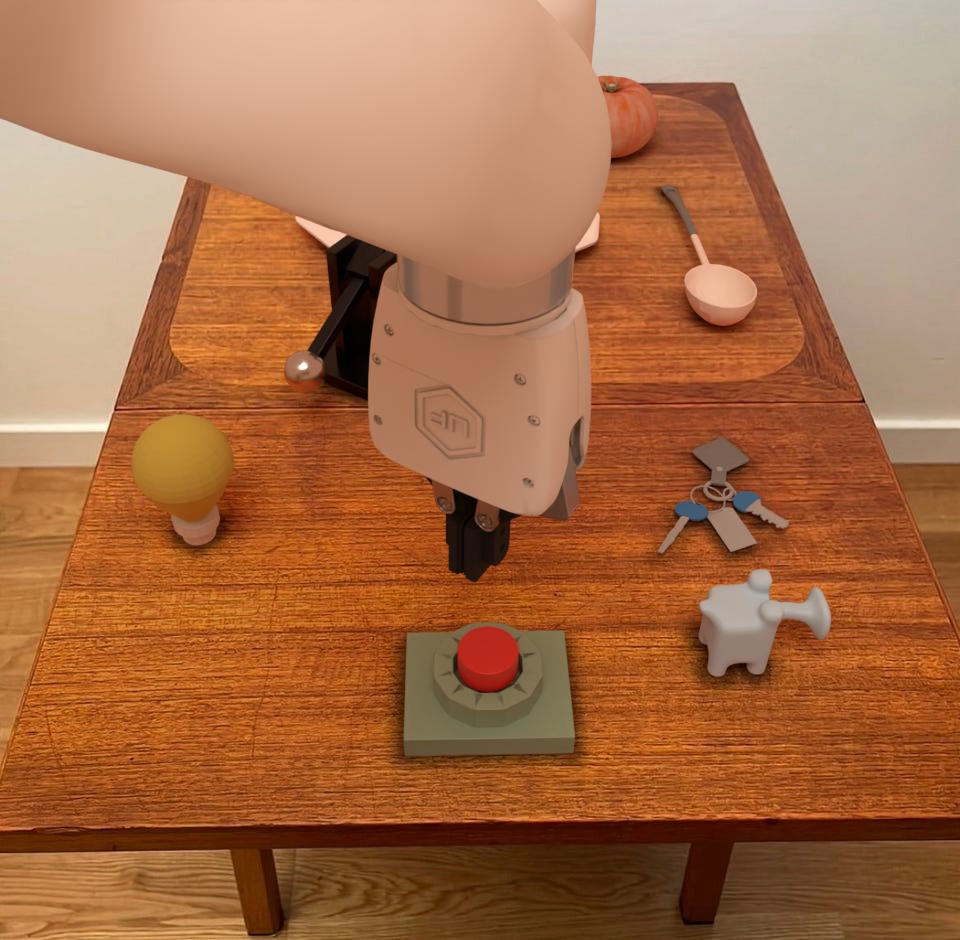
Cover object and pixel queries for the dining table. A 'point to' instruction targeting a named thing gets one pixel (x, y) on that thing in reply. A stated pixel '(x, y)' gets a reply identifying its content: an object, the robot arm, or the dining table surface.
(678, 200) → the ladle
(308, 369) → the lever
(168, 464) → the light bulb
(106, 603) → the dining table surface
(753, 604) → the figurine
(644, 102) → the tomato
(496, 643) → the button
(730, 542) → the key chain
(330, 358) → the switch bracket
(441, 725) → the control block
